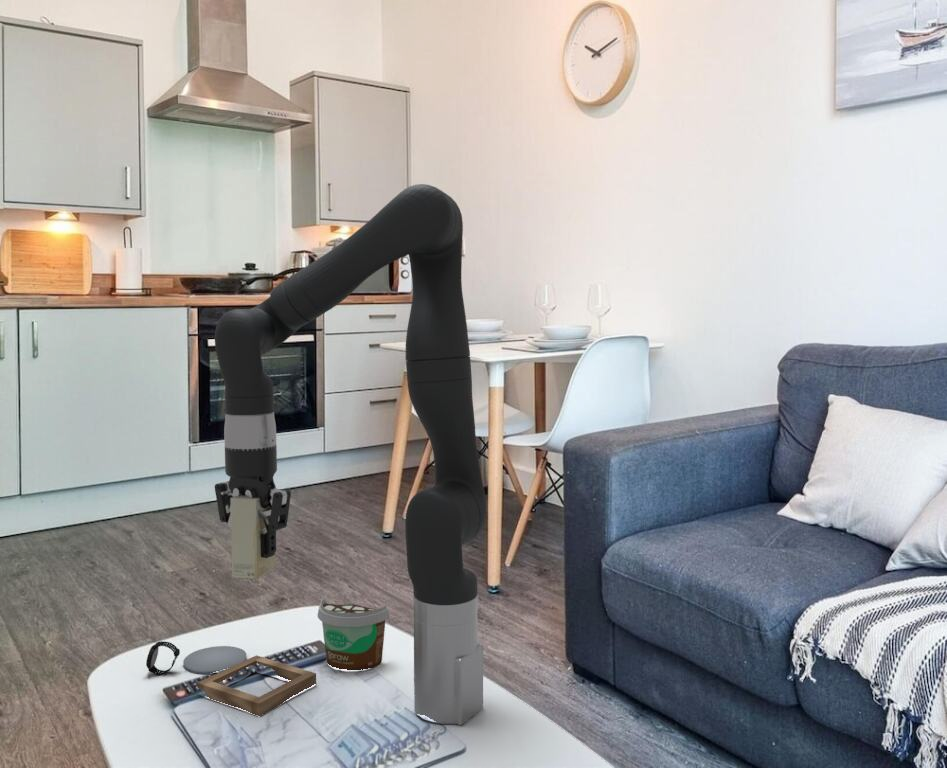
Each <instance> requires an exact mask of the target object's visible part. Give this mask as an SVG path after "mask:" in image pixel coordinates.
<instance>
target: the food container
mask: <svg viewBox="0 0 947 768" xmlns="http://www.w3.org/2000/svg"><path fill="white" fill-rule="evenodd" d="M317 618H318V619H319V621H321V622H322V623H321V624H322V631H323V641H324V650H325V657H326V658H325V659H326V664H327V663H328V664H329V665H331V666H332V667H336V668H339V669H347V670H361V669H362V670H363V669H368V668H372V669H375V668H377V667H378V666H380V665H382V662H383V653H384V652H383V651H384V640H385V631H386V620H387V619H389V618H390V614H389V608H387V604H385V605H383V606H381V607H379V608H370V607H366V606H362V605H359V604H355V603H353V604H351V603H350V604H335V603H333V604H332V603H327V602H326V599H325V597H324V598H322V600H320V604H319V606H318V612H317ZM328 664H327V665H328Z"/></svg>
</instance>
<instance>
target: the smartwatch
mask: <svg viewBox="0 0 947 768" xmlns="http://www.w3.org/2000/svg"><path fill="white" fill-rule="evenodd" d="M160 647H166V648H168V649H170V650H171V651H172V652H173V656H174V659H173V661H172V663H171V666H170V667H169V668H168V669H166V670H163V669H162V670H161V669H158V667H156V665H155V664H156V663H157V658H158V655H159V648H160ZM180 653H181V649H180V648H178V647H177V646H176V645H175V644H174V643H172V642H169V641H163V640H162V641H157V642H155V644H154V645H152V646H151V647H150V648H149V651H148V654H147V657H146V663H145V664H146V668H147V669H148V670H147V671H148V672H149V673H151V674H153V675H156V676H165V675H167V674H168V673H169V672H171V670H172V669H173V667H174V665H175V663H176V660H177V659H178V657H179V656H180Z"/></svg>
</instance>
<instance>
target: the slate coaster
mask: <svg viewBox="0 0 947 768" xmlns="http://www.w3.org/2000/svg"><path fill="white" fill-rule="evenodd" d="M245 660H247V652H246V651H245V650H244V649H242V648H240V647H238V646H237V647H236V646H230V645H217V646H210V647H205V648H201V649H198V650H195V651H193V652H191V653H189V654H188V655H187V656H185V657H184V658H183V668H184V670H186V671H188V672H189V673H192V674H197V675H211V674H210V673H213V672H216V671H220V670H223V669H227V668H230V667H232V666H234V665H236V664H238V663H241V662H243V661H245Z"/></svg>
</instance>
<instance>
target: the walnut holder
mask: <svg viewBox="0 0 947 768" xmlns="http://www.w3.org/2000/svg"><path fill="white" fill-rule="evenodd" d="M255 663H258V664H262V665H264V666H268V667H270V668H272V669H273V670H275V672H276V675H278V676H280V677H283V678H285V679H288V680H291V681H289V682H285V683H283V684H281V685H279V686H278V687H275V688H274V689H271V690H270V691H268V692H266V693H264V694H262V695H260V696H257V695H255V694H252V693H249V692H245V691H243V690H239V689H236V688H233V687H231V686H225V685H222V684H219V682H221V681H223V680H225V679H226V678H228V677H230V676H232V675H234V674H236V673H237V672H239V671H241V670H242V669H244V668H246V667H248V666H250V665H253V664H255ZM314 684H316V685H317V673H316V672H313V671H310V670H307V669H303V668H301V667H300V668H299V667H298V666H297V667H296V666H294V665H289V664H288V663H285V662H284V663H283V662H280V661H276V660H273V659H269V658H267V657H263V656H260V655H257V654H256V655H254V656H251V657H250V658H246V660H245V661H243V662H241V663H238V664H236V665H234V666H232V667H230V668H228V669H226V670H223V671H221V672H219V673H217V674H212V675H210V676H209V677H207V678H204V679H202V680H200V681H197V683H196V685H197V686H196V687H197V688H199V689H201V690H204V692H205V693H206V695H207V697H209V698H210V699H213V700H216V701H219V702H222V703H225V704H228V705H231V706H234V707H238V708H241V709H243V710H246V711H248V712H250V713H252V714H255V715H258V716H260V717H262V716H263V715H262V714H264V715H265V714H267V713H269V712H271V711H273V710H275V709H276V708H278V707H279V706H278V705H280V704H282V703H283V702H284V701H286V700H287V699H289V698H290V697H292V696H293V695H296V694H298V693H299V692H301V691H303V690H304V689H307V688H309V687H311V686H312V685H314ZM282 705H283V704H282ZM277 706H278V707H277ZM280 706H281V705H280ZM275 707H276V708H275ZM274 708H275V709H274ZM272 709H273V710H272ZM270 710H271V711H270ZM268 711H269V712H268ZM266 712H267V713H266ZM252 714H251V715H252ZM255 715H254V716H255ZM261 715H262V716H261ZM258 716H257V717H258Z"/></svg>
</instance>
